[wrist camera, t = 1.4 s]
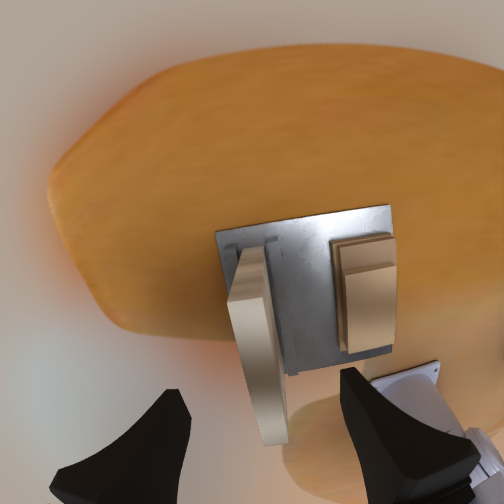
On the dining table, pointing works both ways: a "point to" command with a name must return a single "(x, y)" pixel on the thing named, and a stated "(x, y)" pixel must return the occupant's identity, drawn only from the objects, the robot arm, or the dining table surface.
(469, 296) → the dining table surface
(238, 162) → the dining table surface
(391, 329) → the offcut stack
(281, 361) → the beige flat block
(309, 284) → the rack
